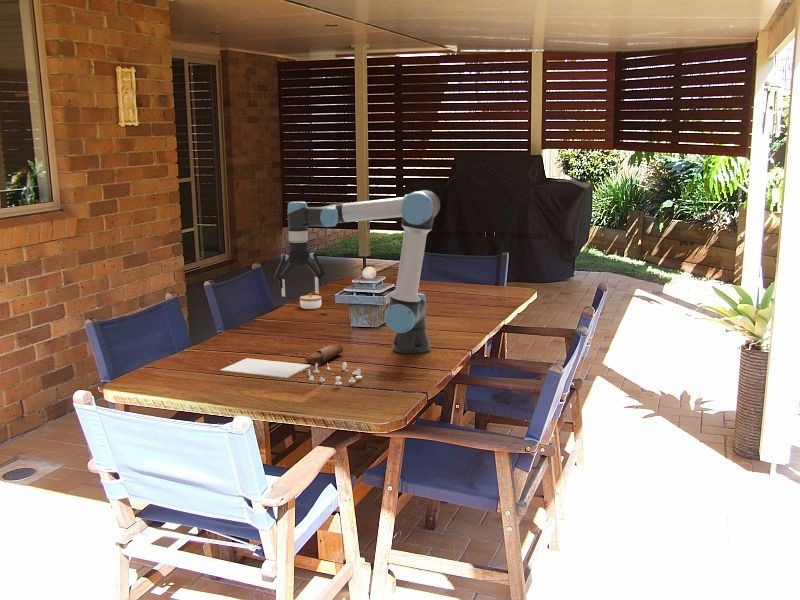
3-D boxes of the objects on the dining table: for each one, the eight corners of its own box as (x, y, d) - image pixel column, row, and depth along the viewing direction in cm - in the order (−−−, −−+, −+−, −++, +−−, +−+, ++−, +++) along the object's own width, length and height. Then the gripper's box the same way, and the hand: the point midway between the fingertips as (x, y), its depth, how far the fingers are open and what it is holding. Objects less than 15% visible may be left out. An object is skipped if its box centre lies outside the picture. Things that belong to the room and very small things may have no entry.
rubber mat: (310, 365, 316) (310, 364, 316) (286, 378, 299) (286, 377, 299) (246, 359, 326) (246, 358, 326) (220, 370, 310) (220, 369, 310)
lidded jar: (326, 311, 417) (325, 293, 415) (312, 315, 408) (312, 296, 406) (309, 309, 423) (308, 291, 421) (295, 313, 414) (295, 294, 412)
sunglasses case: (323, 348, 335) (332, 336, 333) (336, 360, 334) (345, 348, 332) (303, 360, 319) (312, 347, 316) (316, 372, 318) (326, 359, 315)
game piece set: (332, 367, 316) (332, 357, 315) (372, 375, 303) (372, 365, 302) (294, 378, 301) (294, 367, 300) (335, 388, 288) (335, 377, 288)
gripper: (326, 238, 337) (328, 290, 341) (264, 242, 328) (267, 295, 332) (331, 240, 330) (333, 293, 334) (268, 244, 321) (271, 298, 325)
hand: (300, 294), depth 333 cm, fingers open, 13 cm apart
